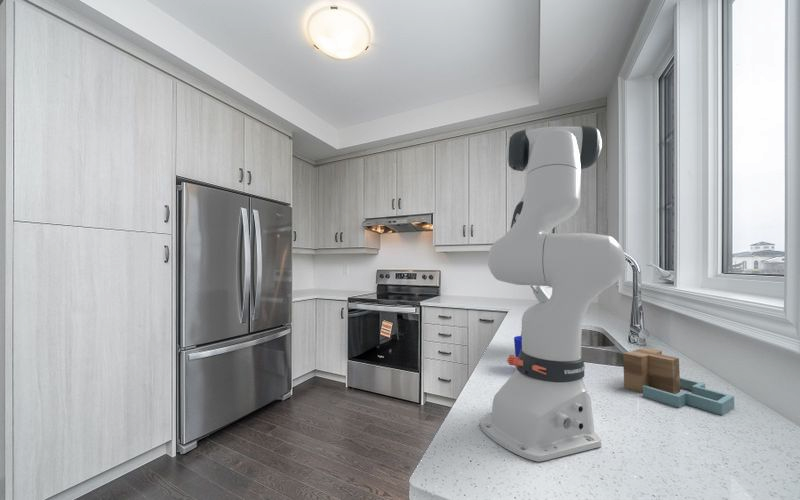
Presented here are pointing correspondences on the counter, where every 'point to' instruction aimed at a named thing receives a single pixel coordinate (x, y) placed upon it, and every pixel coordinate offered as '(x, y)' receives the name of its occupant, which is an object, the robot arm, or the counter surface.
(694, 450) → the counter surface
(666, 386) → the t block
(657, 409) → the counter surface
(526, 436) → the robot arm
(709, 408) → the t pocket
